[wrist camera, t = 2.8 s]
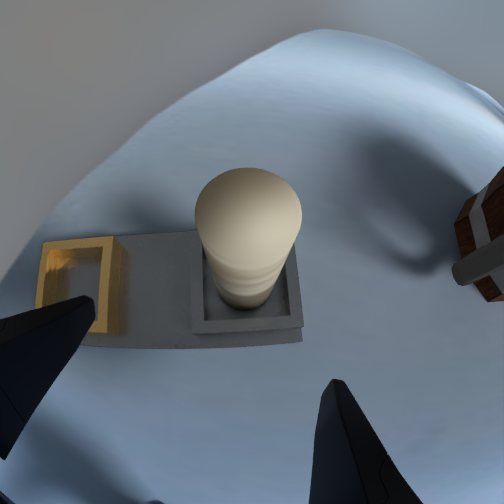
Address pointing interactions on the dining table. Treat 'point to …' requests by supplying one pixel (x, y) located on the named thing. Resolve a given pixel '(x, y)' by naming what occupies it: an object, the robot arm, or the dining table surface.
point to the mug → (482, 241)
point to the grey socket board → (163, 294)
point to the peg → (247, 233)
